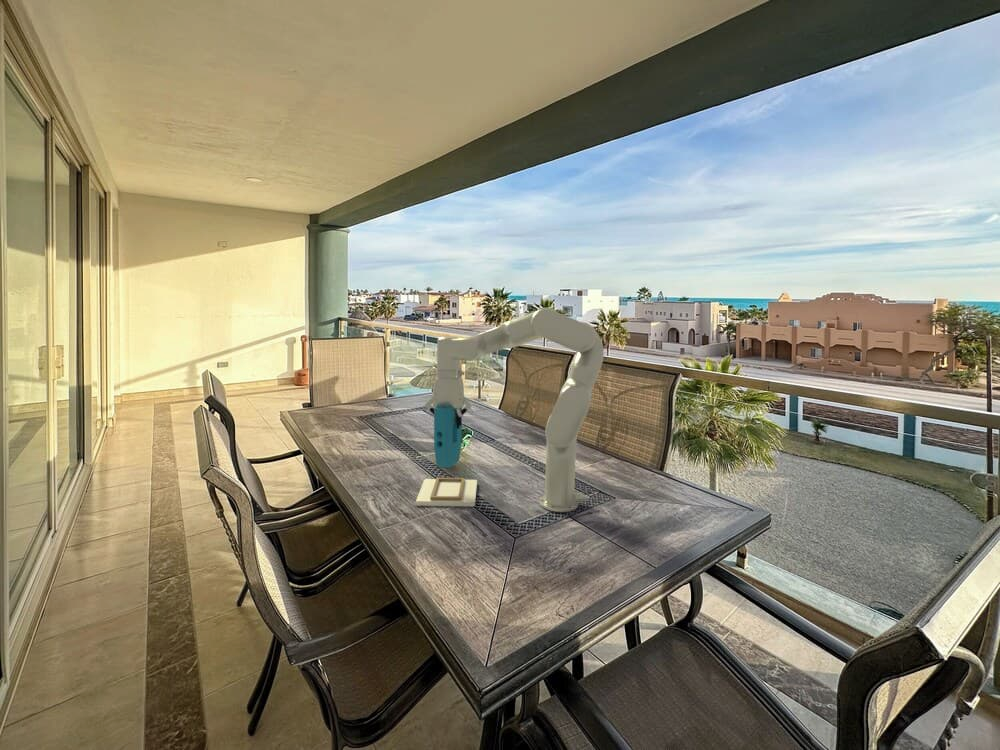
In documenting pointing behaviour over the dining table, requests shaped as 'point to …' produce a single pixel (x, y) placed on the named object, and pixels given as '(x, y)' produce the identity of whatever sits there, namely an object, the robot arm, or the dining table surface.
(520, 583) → the dining table surface
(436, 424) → the block
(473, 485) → the base board
